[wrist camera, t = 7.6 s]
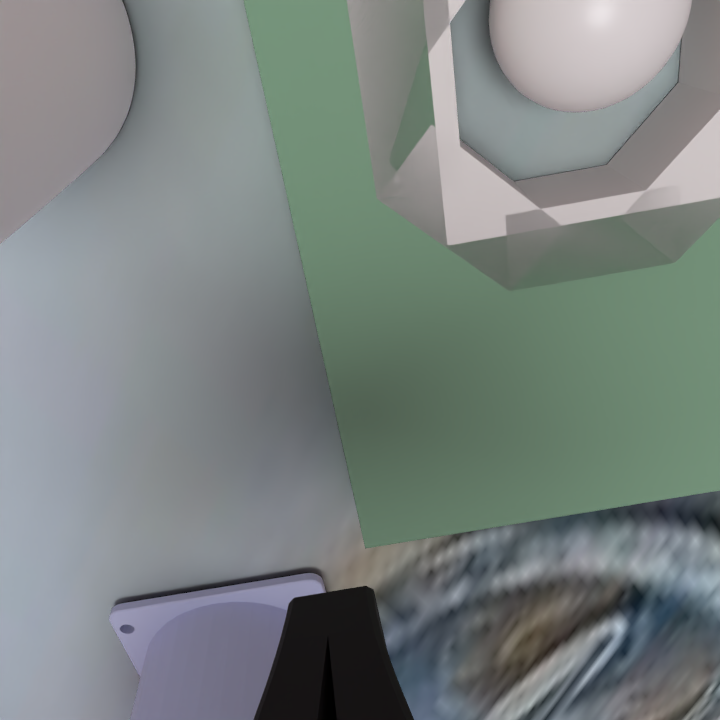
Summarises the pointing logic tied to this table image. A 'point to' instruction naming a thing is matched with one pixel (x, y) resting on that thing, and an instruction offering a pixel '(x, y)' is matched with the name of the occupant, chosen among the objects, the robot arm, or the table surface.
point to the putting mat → (496, 280)
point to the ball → (584, 47)
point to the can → (58, 96)
